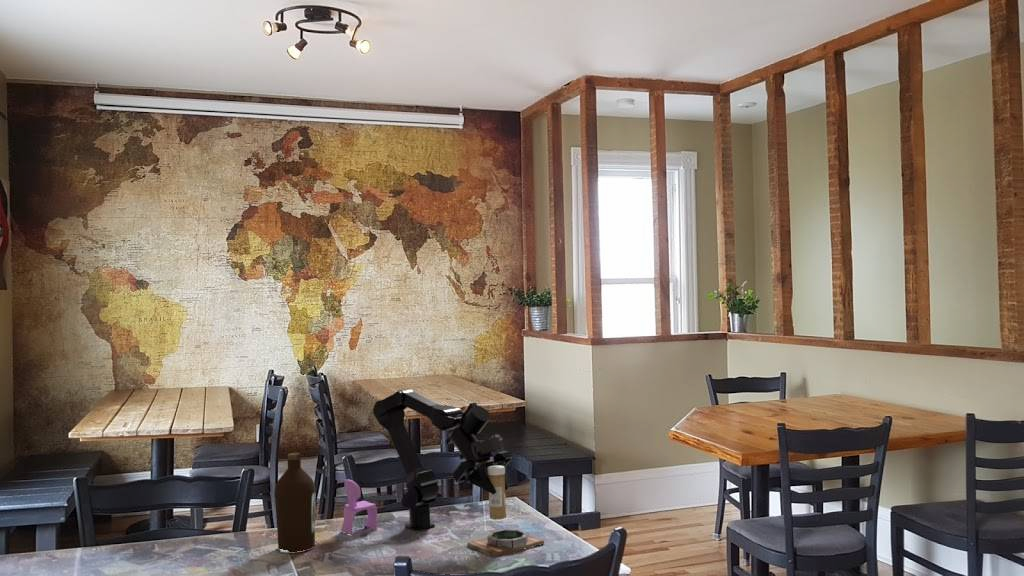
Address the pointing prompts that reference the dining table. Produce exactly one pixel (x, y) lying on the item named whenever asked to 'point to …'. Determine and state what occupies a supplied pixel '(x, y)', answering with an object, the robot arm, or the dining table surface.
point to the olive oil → (295, 507)
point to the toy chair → (357, 508)
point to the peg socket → (507, 538)
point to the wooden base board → (492, 551)
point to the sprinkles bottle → (497, 492)
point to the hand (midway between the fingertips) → (500, 491)
